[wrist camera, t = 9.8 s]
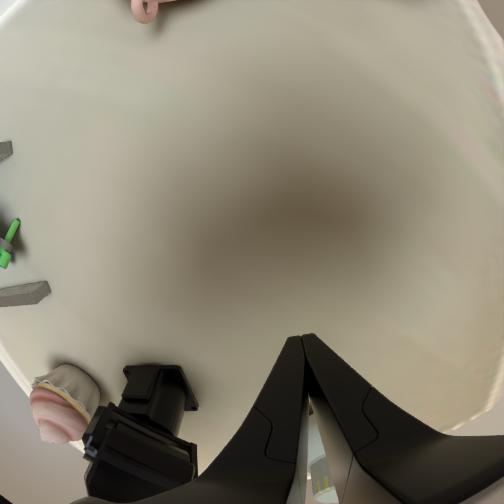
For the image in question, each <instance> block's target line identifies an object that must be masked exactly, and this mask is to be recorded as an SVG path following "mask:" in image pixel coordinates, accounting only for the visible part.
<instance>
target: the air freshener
mask: <svg viewBox="0 0 504 504" xmlns="http://www.w3.org/2000/svg"><path fill="white" fill-rule="evenodd" d="M307 472H309V473H311V480H312V487H313V488H312V489H313V498H314V499H315V500H316V501H318V502H321V503H336V502H339V501H338V497H337V493H336V490H335V486H334V483H333V479H332V475H331V472H330V468H329V465H328V461H327V458H326V454H325V451H324V447H323V444H322V440H321V437H320V433H319V430H318V426H317V423H316V419H315V416H314V414H312V415H310V416H309V432H308V461H307Z"/></svg>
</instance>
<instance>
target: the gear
mask: <svg viewBox="0 0 504 504" xmlns="http://www.w3.org/2000/svg"><path fill="white" fill-rule="evenodd" d="M19 224H20V222H19V221H18V220H16V219H14V221H13V223H12V225H11V227H10V229H9V231H8V233H7V235H6V237H5V239H2V238H0V267H3V268H4V269H6V268H7V266H8V264H9V261H10V259H11V257H12V256H11V255H10V254H9V253H10V251H11V249H12V247H13V246H12V245H11V244H10V242H11V239H12V237H13V235H14V233H15V231H16V230H17V228H18V226H19ZM7 252H8V253H7Z"/></svg>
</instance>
